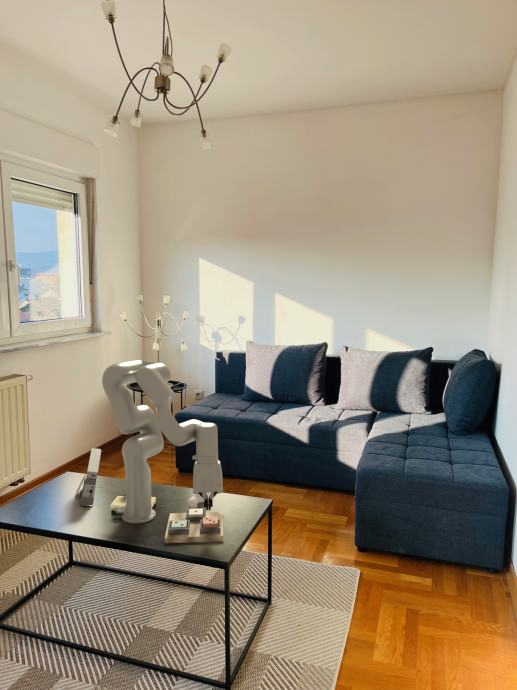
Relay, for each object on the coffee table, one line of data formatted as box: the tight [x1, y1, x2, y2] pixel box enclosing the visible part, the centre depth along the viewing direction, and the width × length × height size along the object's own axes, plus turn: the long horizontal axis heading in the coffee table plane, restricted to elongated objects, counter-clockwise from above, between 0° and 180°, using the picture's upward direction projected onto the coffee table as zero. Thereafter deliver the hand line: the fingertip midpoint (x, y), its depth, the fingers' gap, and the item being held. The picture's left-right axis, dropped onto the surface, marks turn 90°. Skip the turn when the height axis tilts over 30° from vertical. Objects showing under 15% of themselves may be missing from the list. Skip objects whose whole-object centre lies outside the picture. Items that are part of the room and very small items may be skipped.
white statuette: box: [187, 491, 210, 509], centre depth 215 cm, size 6×8×12 cm
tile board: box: [164, 507, 224, 544], centre depth 194 cm, size 20×20×4 cm
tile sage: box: [171, 520, 187, 529], centre depth 189 cm, size 5×5×2 cm
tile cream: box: [188, 507, 204, 516], centre depth 199 cm, size 5×5×2 cm
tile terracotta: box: [203, 517, 218, 528], centre depth 190 cm, size 5×5×2 cm
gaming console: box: [75, 447, 102, 507], centre depth 221 cm, size 23×8×20 cm, turn 14°
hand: (208, 508), depth 189 cm, fingers closed
